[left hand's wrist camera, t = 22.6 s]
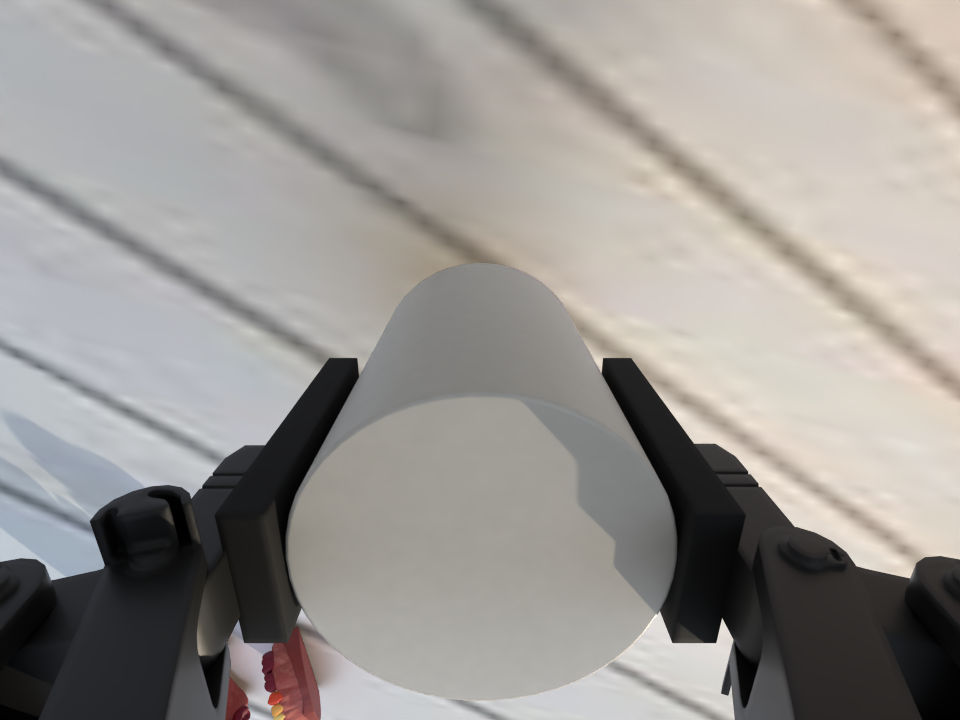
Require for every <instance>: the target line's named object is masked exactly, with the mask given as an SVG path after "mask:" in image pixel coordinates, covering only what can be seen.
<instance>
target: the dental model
mask: <svg viewBox="0 0 960 720" xmlns="http://www.w3.org/2000/svg"><path fill="white" fill-rule="evenodd" d="M262 658H263V660H262V665H263V669H262V672H263V673H264V675H265V677H264V679H265V681H266V682H265V689H266V690H267V691H268V692H270V693H271V695H270V697H269V700H268V704H269V705H274V706H273V707H272V708H271V710H272V715H273V719H274V720H320V719H321V707H320V696H319V690H318V687H317V684H316V680H315V677H314V674H313V671H312V668H311V665H310V661H309V658H308V655H307V652H306V649H305V646H304V643H303V640H302V637H301V634H300V631H299V628H298V627H296V628H294V629H293V631H292V634H291V636H290V639H289V641H288V643H274V644H273V647H272V651H269V652H267V653H265V654H264V655H263V657H262ZM276 690H277V691H276ZM272 692H273V693H272ZM278 702H279V703H278ZM247 705H248V698H247V696H246V694H245V692H244V691H243V690H242V689H240V688H239V687H238V686H237V685H236V683H235V682H234V681H233V680H232V678H231V677H229V687H228V697H227V706H226V716H225V720H249V718H250V711H249V710H248V707H247Z"/></svg>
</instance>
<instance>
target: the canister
mask: <svg viewBox="0 0 960 720" xmlns="http://www.w3.org/2000/svg"><path fill="white" fill-rule="evenodd" d="M286 561H287V567H288V572H289V578H290V581H291V584H292V587H293V590H294V592H295V595H296V598H297V600H298V602H299V603H300V605H301V607H302V609H303V611H304V613H305V615H306V616H307V618H308V619H309V620H310V622H311V623H312V624H313V626H314V627H315V629H316V630H317V631H318V632H319V633H320V634H321V636H322V637H323V638H324V639H325V640H326V641H327V642H328V643H329V644H330V645H331V646H332V647H333V648H334V649H336V650H337V651H338V652H339V653H340V654H342V655H343V656H344V657H345V658H346V659H348V660H349V661H351V662H352V663H354V664H355V665H357V666H358V667H360V668H361V669H363V670H365V671H366V672H368V673H370V674H372V675H374V676H376V677H378V678H380V679H382V680H384V681H386V682H389V683H391V684H394V685H397V686H399V687H402V688H404V689H408V690H411V691H415V692H418V693H422V694H425V695H431V696H436V697H441V698H447V699H457V700H468V701H495V700H506V699H516V698H521V697H527V696H532V695H537V694H541V693H545V692H548V691H552V690H555V689H559V688H561V687H564V686H566V685H569V684H571V683H574V682H577V681H579V680H581V679H583V678H585V677H587V676H589V675H591V674H593V673H595V672H597V671H598V670H600V669H601V668H603V667H605V666H606V665H608V664H609V663H611V662H612V661H614V660H615V659H616V658H618V657H619V656H620V655H621V654H623V653H624V652H625V651H626V650H627V649H629V648H630V647H631V646H632V645H633V644H634V643H635V642H636V641H637V640H638V639H639V638H640V637H641V635H642V634H643V633H644V632H645V631H646V630H647V628H648V627H649V626H650V624H651V623H652V622H653V620H654V619H655V617H656V616H657V615H658V613H659V611H660V609H661V607H662V605H663V603H664V601H665V600H666V598H667V595H668V592H669V589H670V587H671V584H672V581H673V578H674V572H675V567H676V561H677V530H676V523H675V517H674V513H673V510H672V507H671V504H670V501H669V498H668V495H667V493H666V491H665V489H664V487H663V486H662V484H661V482H660V480H659V478H658V476H657V474H656V472H655V471H654V469H653V467H652V465H651V463H650V461H649V460H648V458H647V456H646V454H645V452H644V450H643V449H642V447H641V445H640V443H639V441H638V440H637V438H636V436H635V434H634V432H633V430H632V429H631V427H630V425H629V423H628V421H627V419H626V418H625V416H624V414H623V412H622V410H621V408H620V407H619V405H618V403H617V401H616V399H615V398H614V396H613V394H612V392H611V390H610V388H609V387H608V385H607V383H606V381H605V379H604V377H603V376H602V374H601V372H600V370H599V368H598V366H597V365H596V363H595V361H594V359H593V357H592V355H591V354H590V352H589V350H588V348H587V346H586V345H585V343H584V341H583V339H582V337H581V335H580V334H579V332H578V330H577V328H576V326H575V324H574V323H573V321H572V319H571V317H570V315H569V313H568V312H567V310H566V308H565V307H564V305H563V304H562V302H561V301H560V300H559V298H558V297H557V296H556V295H555V294H554V293H553V292H552V291H551V290H550V289H549V288H548V287H547V286H545V285H544V284H543V283H541V282H540V281H539V280H537V279H536V278H534V277H532V276H530V275H529V274H527V273H525V272H522V271H520V270H517V269H515V268H511V267H508V266H504V265H499V264H491V263H471V264H463V265H458V266H454V267H451V268H447V269H445V270H442V271H440V272H437V273H435V274H433V275H432V276H430V277H428V278H426V279H425V280H423V281H422V282H421V283H419V284H418V285H417V286H415V287H414V288H413V289H412V290H411V291H410V292H409V293H408V294H407V295H406V296H405V297H404V298H403V300H402V301H401V302H400V304H399V305H398V307H397V308H396V310H395V312H394V314H393V315H392V317H391V319H390V321H389V323H388V325H387V326H386V328H385V330H384V332H383V334H382V336H381V338H380V339H379V341H378V343H377V345H376V347H375V349H374V350H373V352H372V354H371V356H370V358H369V360H368V362H367V363H366V365H365V367H364V369H363V371H362V373H361V374H360V376H359V378H358V380H357V382H356V384H355V386H354V387H353V389H352V391H351V393H350V395H349V397H348V399H347V400H346V402H345V404H344V406H343V408H342V410H341V411H340V413H339V415H338V417H337V419H336V421H335V423H334V424H333V426H332V428H331V430H330V432H329V434H328V435H327V437H326V439H325V441H324V443H323V445H322V447H321V448H320V450H319V452H318V454H317V456H316V458H315V459H314V461H313V463H312V465H311V467H310V469H309V471H308V472H307V474H306V476H305V478H304V480H303V482H302V484H301V485H300V487H299V489H298V491H297V493H296V495H295V498H294V501H293V504H292V507H291V510H290V513H289V517H288V523H287V529H286Z"/></svg>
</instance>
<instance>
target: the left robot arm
mask: <svg viewBox="0 0 960 720" xmlns="http://www.w3.org/2000/svg"><path fill="white" fill-rule="evenodd" d="M602 376H603V377H604V379H605V381H606V383H607V385H608V387H609V388H610V390H611V392H612V394H613V396H614V398H615V399H616V401H617V403H618V405H619V407H620V408H621V410H622V412H623V414H624V416H625V418H626V419H627V421H628V423H629V425H630V427H631V429H632V430H633V432H634V434H635V436H636V438H637V440H638V441H639V443H640V445H641V447H642V449H643V450H644V452H645V454H646V456H647V458H648V460H649V461H650V463H651V465H652V467H653V469H654V471H655V472H656V474H657V476H658V478H659V480H660V482H661V484H662V486H663V487H664V489H665V491H666V493H667V495H668V498H669V501H670V504H671V507H672V510H673V513H674V517H675V523H676V530H677V561H676V567H675V572H674V578H673V581H672V584H671V587H670V589H669V592H668V595H667V598H666V600H665V601H664V603H663V605H662V607H661V609H660V612H661V615H662V617H663V620H664V622H665V625H666V628H667V630H668V633H669V635H670V638H671V640H672V643H716V641H717V637H718V633H719V629H720V624H721V620H722V618H723V620H724V622H725V624H726V626H727V628H728V630H729V632H730V634H731V635H732V637H733V639H734V640H733V644H732V648H731V652H730V656H729V660H728V664H727V668H726V672H725V676H724V680H723V685H722V691H721V694H724V695H729V691H730V687H731V685H732V695H733V705H734V715H735V720H960V560H959V559H953V558H948V557H942V556H937V557H925V558H923V559H922V560H920V561H919V562H917V563H916V566H915V568H914V571H913V573H912V576H911V578H905V577H900V576H896V575H891V574H887V573H882V572H877V571H873V570H868V569H864V568H860V567H857V566H856V565H855V564H854V562H853V561H852V559H851V558H850V557H849V555H848V554H847V553H846V552H845V551H844V550H843V549H841V548H840V547H839V546H838V545H836V544H835V543H834V542H832V541H831V540H829V539H827V538H825V537H823V536H821V535H819V534H817V533H814V532H811V531H808V530H804V529H801V528H798V527H794V526H793V524H792V523H791V522H790V521H789V520H788V518H787V517H786V516H785V515H784V514H783V512H782V511H781V510H780V509H779V508H778V507H777V505H776V504H775V503H774V502H773V501H772V499H771V498H770V497H769V496H768V495H767V493H766V492H765V491H764V490H763V489H762V488H761V487H759V486H758V483H757V482H756V480H755V479H754V478H753V477H752V476H751V474H748V471H747V470H746V468H745V467H744V466H743V465H742V464H741V463H740V461H739V460H738V459H737V458H736V457H735V456H734V455H732V454H731V453H729V452H727V451H726V450H724V449H723V448H721V447H720V446H718V445H716V444H694V443H693V442H692V440H691V439H690V438H689V436H688V435H687V434H686V432H685V431H684V430H683V428H682V427H681V426H680V424H679V423H678V421H677V420H676V419H675V417H674V416H673V415H672V413H671V412H670V411H669V409H668V408H667V406H666V405H665V404H664V402H663V401H662V400H661V398H660V397H659V396H658V394H657V393H656V391H655V390H654V389H653V387H652V386H651V385H650V383H649V382H648V381H647V379H646V378H645V376H644V375H643V374H642V372H641V371H640V370H639V368H638V367H637V366H636V364H635V363H634V361H633V360H632V359H631V358H603V366H602ZM358 378H359V372H358V361H357V358H329V359H328V361H327V362H326V363H325V365H324V366H323V368H322V369H321V370H320V372H319V373H318V374H317V376H316V377H315V378H314V380H313V381H312V382H311V384H310V385H309V387H308V388H307V389H306V391H305V392H304V393H303V395H302V396H301V397H300V399H299V400H298V402H297V403H296V404H295V406H294V407H293V408H292V410H291V411H290V412H289V414H288V415H287V417H286V418H285V419H284V421H283V422H282V423H281V425H280V426H279V427H278V429H277V430H276V432H275V433H274V434H273V436H272V437H271V438H270V440H269V441H268V442H267V444H266V445H245V446H244V447H242V448H241V449H239V450H237V451H236V452H234V453H233V454H231V455H230V456H228V457H226V458H225V459H224V460H223V462H222V463H221V464H220V465H219V466H218V468H217V469H216V470H215V471H214V472H213V476H210V477H209V478H208V480H207V481H206V482H205V483H204V484H203V486H202V489H199V490H198V492H197V493H196V494H195V495H194V496H193V498H192V499H191V497H190V493H188V492H187V491H186V490H184V489H183V488H182V487H176V486H170V485H164V486H152V487H148V488H144V489H140V490H136V491H132V492H130V493H128V494H126V495H123V496H121V497H119V498H117V499H114V500H113V501H111V502H110V503H109V504H107V505H106V506H104V507H103V508H101V509H100V510H99V511H98V512H97V513H96V514H95V515H94V517H93V518H92V519H91V520H90V523H91V526H92V529H93V532H94V535H95V538H96V541H97V543H98V546H99V549H100V552H101V555H102V558H103V561H104V564H105V566H104V569H101V570H97V571H93V572H88V573H84V574H79V575H75V576H70V577H66V578H61V579H56V580H52V581H51V579H50V577H49V574H48V572H47V569H46V567H45V565H44V564H42V563H41V562H39V561H38V560H36V559H23V558H20V559H15V560H9V561H3V562H0V720H225V716H226V706H227V697H228V687H229V677H230V667H231V659H230V653H229V648H228V644H227V641H228V639H229V637H230V635H231V633H232V631H233V629H234V627H235V625H236V623H237V622H238V620H239V623H240V627H241V631H242V635H243V640H244V643H288V641H289V639H290V636H291V634H292V631H293V629H294V626H295V623H296V621H297V618H298V616H299V613H300V611H301V608H302V607H301V605H300V603H299V602H298V600H297V598H296V595H295V592H294V590H293V587H292V584H291V581H290V578H289V572H288V567H287V561H286V529H287V523H288V517H289V513H290V510H291V507H292V504H293V501H294V498H295V495H296V493H297V491H298V489H299V487H300V485H301V484H302V482H303V480H304V478H305V476H306V474H307V472H308V471H309V469H310V467H311V465H312V463H313V461H314V459H315V458H316V456H317V454H318V452H319V450H320V448H321V447H322V445H323V443H324V441H325V439H326V437H327V435H328V434H329V432H330V430H331V428H332V426H333V424H334V423H335V421H336V419H337V417H338V415H339V413H340V411H341V410H342V408H343V406H344V404H345V402H346V400H347V399H348V397H349V395H350V393H351V391H352V389H353V387H354V386H355V384H356V382H357V380H358Z"/></svg>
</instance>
